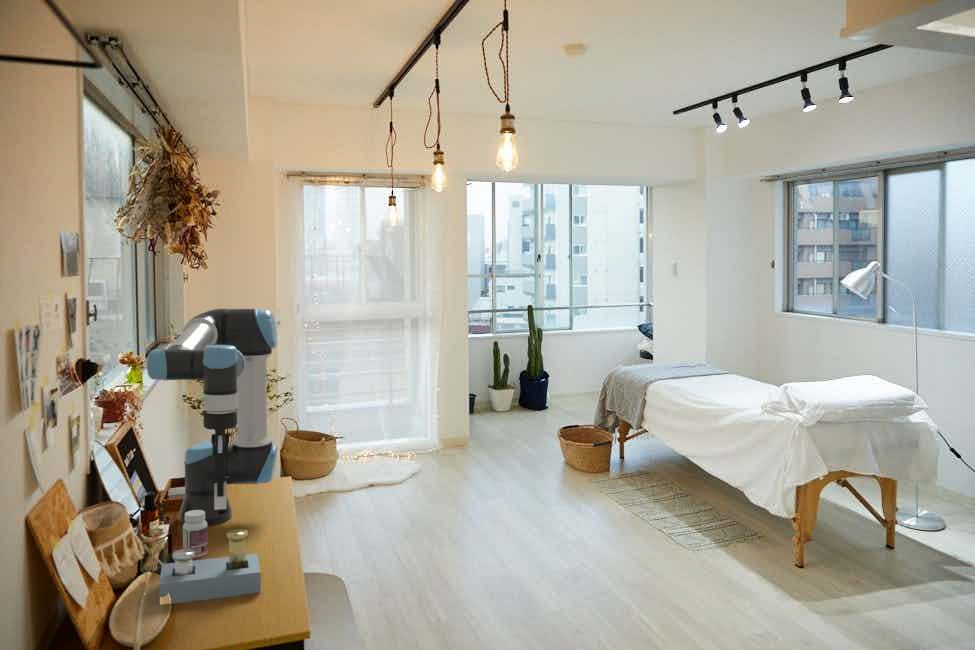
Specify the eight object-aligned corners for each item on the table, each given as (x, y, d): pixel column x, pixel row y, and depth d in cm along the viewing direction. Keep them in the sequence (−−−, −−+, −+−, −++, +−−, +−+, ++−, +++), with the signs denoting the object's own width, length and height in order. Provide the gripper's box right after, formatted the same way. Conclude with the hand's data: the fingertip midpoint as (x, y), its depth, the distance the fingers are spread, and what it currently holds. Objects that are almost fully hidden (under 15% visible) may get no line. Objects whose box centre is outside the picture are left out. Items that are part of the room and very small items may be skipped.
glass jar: (226, 564, 178) (226, 530, 177) (247, 562, 180) (247, 528, 179) (227, 572, 174) (227, 537, 173) (248, 569, 175) (248, 535, 175)
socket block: (162, 584, 176) (161, 564, 176) (257, 572, 184) (257, 553, 184) (159, 605, 165) (159, 584, 165) (260, 592, 173) (260, 572, 173)
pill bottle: (212, 551, 198) (212, 510, 197) (198, 559, 192) (198, 517, 191) (192, 548, 199) (192, 508, 198) (177, 557, 193) (177, 515, 192)
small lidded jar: (173, 584, 174) (173, 550, 173) (194, 582, 176) (194, 547, 175) (172, 593, 169) (172, 557, 169) (194, 590, 171) (194, 555, 171)
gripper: (204, 406, 177) (204, 501, 179) (202, 416, 165) (202, 518, 167) (236, 405, 180) (236, 499, 181) (237, 415, 168) (237, 515, 169)
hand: (220, 508), depth 174 cm, fingers closed
